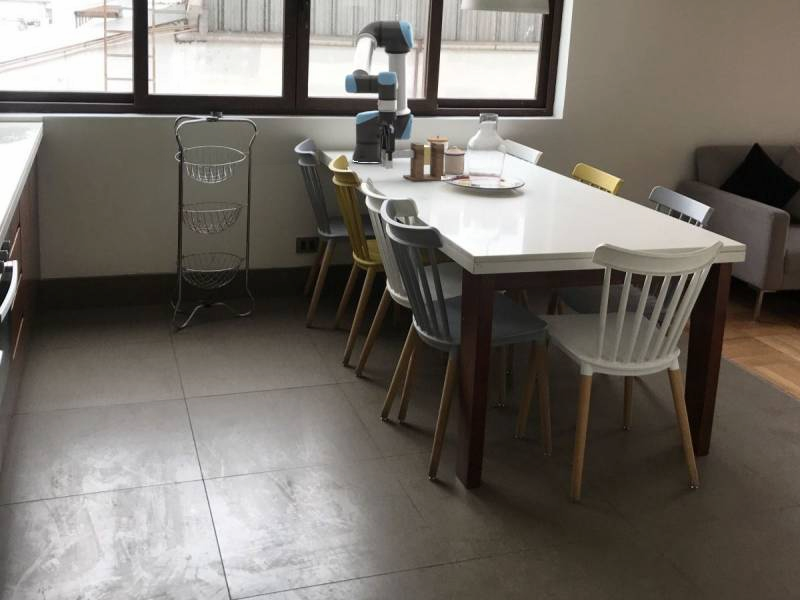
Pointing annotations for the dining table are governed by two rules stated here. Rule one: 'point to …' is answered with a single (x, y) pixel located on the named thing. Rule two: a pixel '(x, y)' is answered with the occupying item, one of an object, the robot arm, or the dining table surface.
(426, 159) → the block
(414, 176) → the wooden pillar stand
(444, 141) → the lidded jar
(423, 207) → the dining table surface
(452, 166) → the teacup with lid
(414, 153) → the shaft
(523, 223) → the dining table surface
